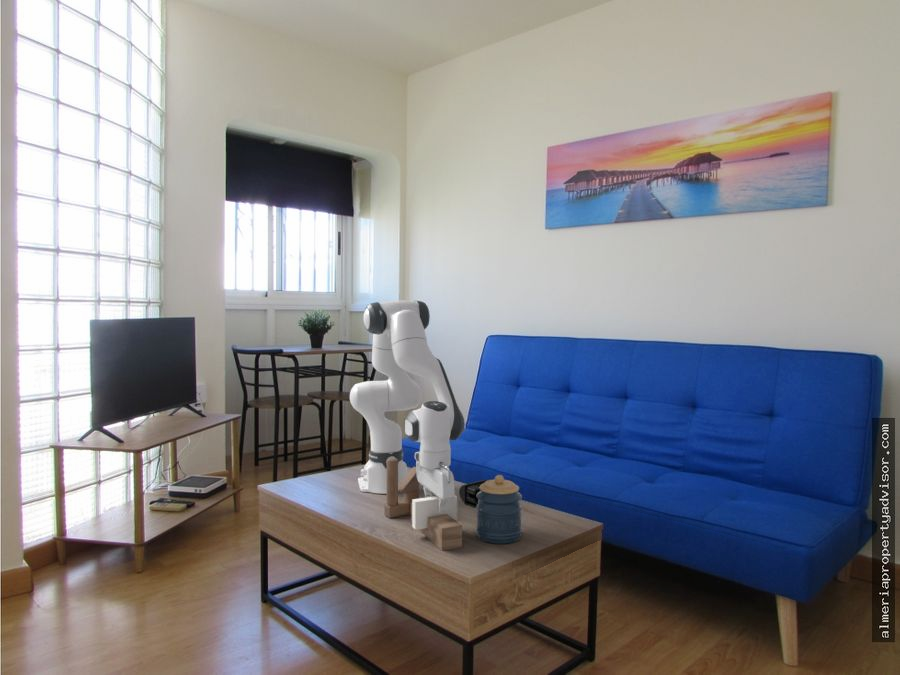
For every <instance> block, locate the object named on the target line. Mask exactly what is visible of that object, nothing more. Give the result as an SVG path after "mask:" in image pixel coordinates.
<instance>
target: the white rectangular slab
mask: <svg viewBox="0 0 900 675" xmlns="http://www.w3.org/2000/svg"><path fill="white" fill-rule="evenodd" d="M439 501H440V500H439V497H438V496H437V495H435V496H433V497H427V498H425V497H419V499H412V523H411V526H412V529H414V530H415V531H417V530H419V529H424V528H428V517H431V516H438V515H445V514H448V515H449V516H451V517H452V518H453V519H454V520H456V521H457V522H458V496H457V495H456V494H455V495H454V498H453V499H449V500H448V501H447V503H446V505H445V512H440V511H438V505H439Z"/></svg>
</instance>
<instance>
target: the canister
mask: <svg viewBox="0 0 900 675" xmlns="http://www.w3.org/2000/svg"><path fill="white" fill-rule="evenodd" d="M479 488H480V490H481V491H479V492H478V493H477V495H476V496H477V498H478V504H477V506H476V507H475V508H476V526H475V527H476V530H475V531H476V536H477V538H478V539H480V540H481V541H483V542H486V543H490V544H500V545H501V544H503V545H504V544H510V543H514V542H517V541H519V539H521V536H522V532H523V531H522V530H523V528H522V510H523V507H522V505H521V500H522V499H523V495H522V494H521V493H520V492H518V491H519V490H520V486H519V485H517V484H516V483H514V482H513V481H511V480H508V479H505V478H504V476H503V475H502V474H497V475H496V476H494V479H487V481H486V482H485V483H483V484H481V485H480V487H479Z"/></svg>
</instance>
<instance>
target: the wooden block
mask: <svg viewBox="0 0 900 675" xmlns="http://www.w3.org/2000/svg"><path fill="white" fill-rule="evenodd" d="M401 494H404V501H399V495H401ZM412 499H420V483H419V482H418V480H417V473H416V466H412V468H411V469H410V471H409V472H407V476H406V477H405V478H404V480H403V481H402V482H401V483H400V485H399V486H398V459H396V458H389V459H387V494H386V503H385V504H384V516H385V517H387V518H389V519H393V518H397V517H402V516H403V517H404V516H407V515H411V502H412Z"/></svg>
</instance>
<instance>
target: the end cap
mask: <svg viewBox="0 0 900 675" xmlns="http://www.w3.org/2000/svg"><path fill="white" fill-rule="evenodd" d="M486 481H488V479H482V480H479V481H474V482H470V483H466V484H465V483H464V484H462V485H461V486H460V487H459V494H458V495H459V498H460V499H461V500H460V501H462V502H463V503H464V505H466V506H468V507H470V508H471V507H472V508H474V509H475V508H477V507H476V506H477V504H478V498H477V496H476V495H477V493H478V492H479V491H481V490H480V488H479V487H480V485H481V484H483V483H485V482H486Z"/></svg>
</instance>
